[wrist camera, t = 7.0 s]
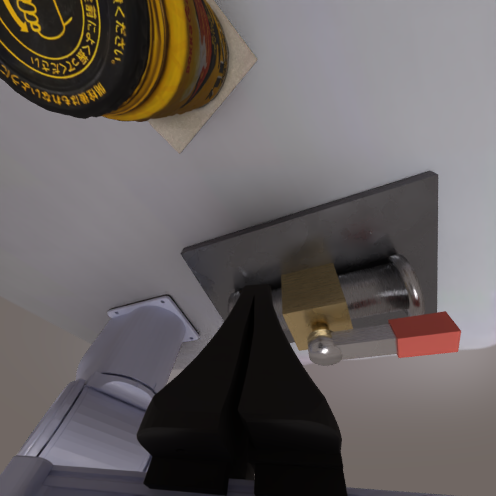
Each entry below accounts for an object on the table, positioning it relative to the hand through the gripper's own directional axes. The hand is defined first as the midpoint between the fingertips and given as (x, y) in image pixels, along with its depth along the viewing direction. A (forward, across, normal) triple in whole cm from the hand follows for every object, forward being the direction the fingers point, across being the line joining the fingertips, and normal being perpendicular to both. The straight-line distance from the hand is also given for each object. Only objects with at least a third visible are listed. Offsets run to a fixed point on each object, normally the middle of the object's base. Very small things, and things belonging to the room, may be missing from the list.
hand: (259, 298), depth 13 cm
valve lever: (+3, -7, +7) cm, 11 cm away
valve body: (+10, -4, +8) cm, 13 cm away
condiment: (+10, +5, -12) cm, 16 cm away
